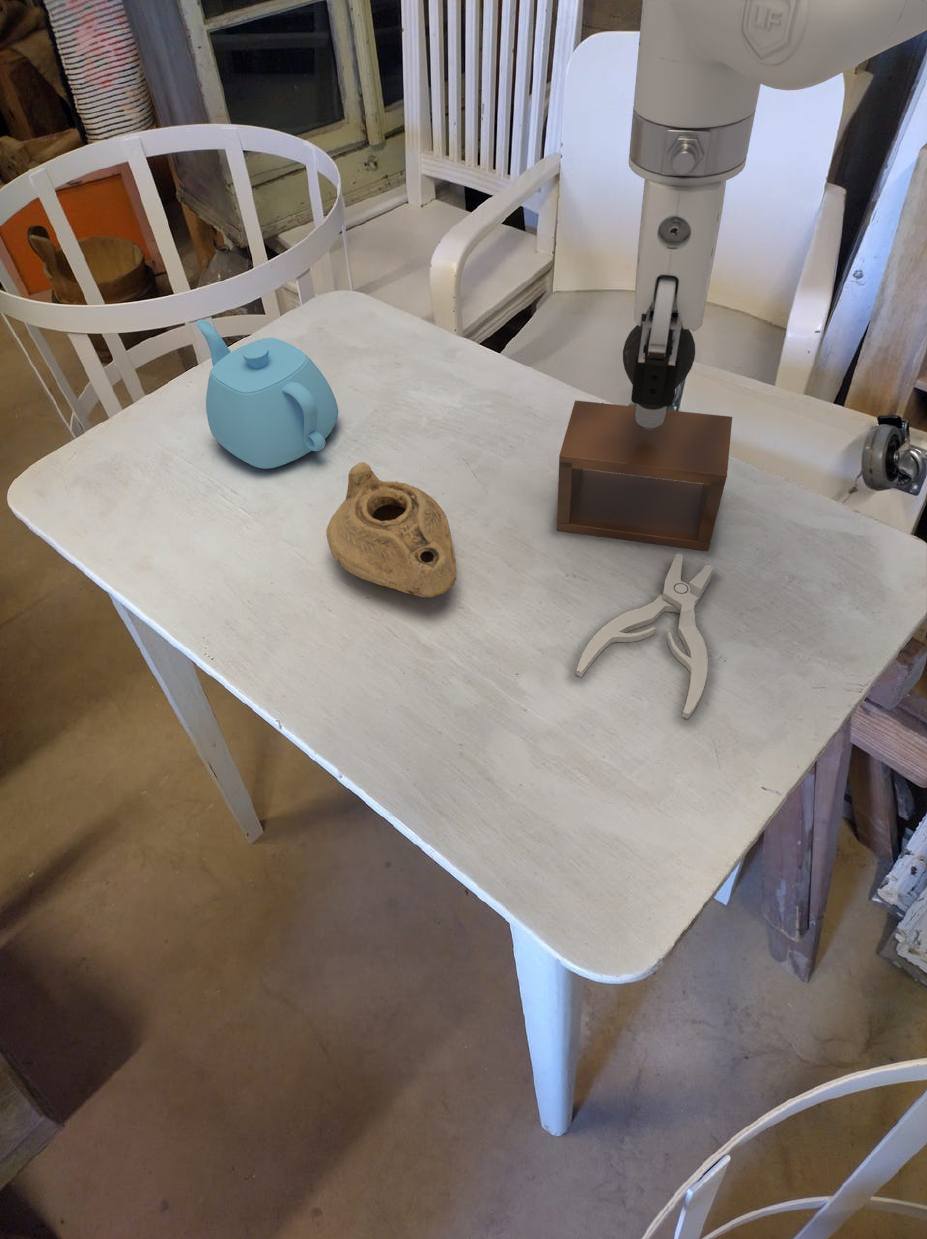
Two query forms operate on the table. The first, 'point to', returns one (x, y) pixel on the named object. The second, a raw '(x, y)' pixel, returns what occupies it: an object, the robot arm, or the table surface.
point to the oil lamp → (392, 535)
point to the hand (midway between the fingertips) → (656, 377)
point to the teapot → (266, 400)
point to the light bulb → (686, 354)
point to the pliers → (672, 600)
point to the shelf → (637, 508)
